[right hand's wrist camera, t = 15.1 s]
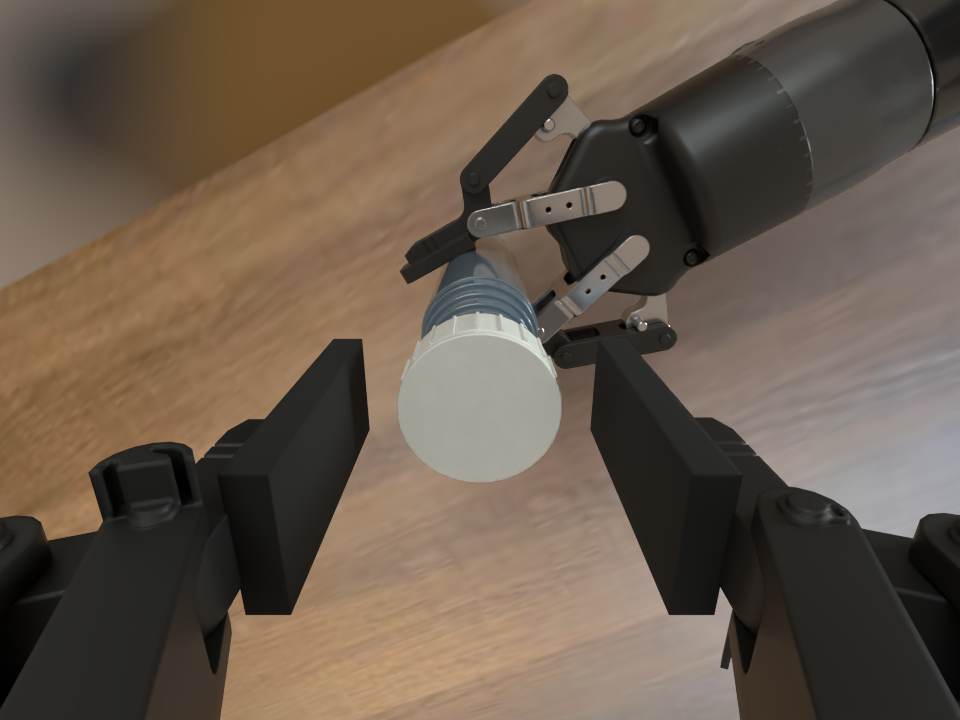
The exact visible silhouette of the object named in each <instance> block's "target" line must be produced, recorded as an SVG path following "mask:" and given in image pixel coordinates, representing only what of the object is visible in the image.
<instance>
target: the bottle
mask: <svg viewBox="0 0 960 720" xmlns="http://www.w3.org/2000/svg"><path fill="white" fill-rule="evenodd" d="M476 312H479V314H492V315H497V316H499V314H502V315H503V317H505V318H507V319H510V320H512V321H514V322H516V323H518V324H520V323H522V324H523V325H524V328H526V329H527V330H528V331H530V332H531V333H532V334H533V335H534V336H535V337H536V338H538V324H537V319H536V315H535V313H534V310H533V307H532V305H531V302H530V299H529V297H528V294H527V291H526V289H525V286H524V283H523V281H522V278H521V275H520V273H519V270H518V267H517V265H516V262H515V259H514V257H513V254H512V251H511V250H510V248H509V246H508V245H507V244H506V242H505V241H504V240H502V239H501V238H500V237H498V236H497V235H492V236H488V237H483V238H480V239H479V240H477V241H476V246H475V247H474V248H473V249H471V250H469V251H467V252H466V253H464V254H462V255H460V256H458V257H456V258H454V259H453V260H451V261H449V262H448V263H446V264H444V265H443V268H442V271H441V273H440V276H439V278H438V281H437V284H436V286H435V289H434V291H433V294H432V297H431V299H430V302H429V304H428V307H427V310H426V312H425V315H424V319H423V324H422V335H421V339H423V338H424V337H425V336H426V335H427V334H428V333H429V332H430V331H431V330H432V328H433V326H434V325H435V326H436V327H437V326H438V325H440V324H442V323H443V322H445V321H447V320H450V319H452V318H453V316H455V315H456V317H458V316H462V315H467V314H476Z"/></svg>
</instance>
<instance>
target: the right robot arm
mask: <svg viewBox="0 0 960 720" xmlns="http://www.w3.org/2000/svg"><path fill="white" fill-rule="evenodd" d="M369 430H370V429H369V417H368V405H367V393H366V381H365V369H364V357H363V345H362V339H333V340H332V342H331V343H330V344H329V345H328V346H327V347H326V349H325V350H324V351H323V352H322V353H321V354H320V356H319V357H318V358H317V359H316V360H315V361H314V363H313V364H312V365H311V366H310V367H309V368H308V370H307V371H306V372H305V373H304V374H303V375H302V376H301V378H300V379H299V380H298V381H297V382H296V383H295V385H294V386H293V387H292V388H291V389H290V390H289V392H288V393H287V394H286V395H285V396H284V397H283V399H282V400H281V401H280V402H279V403H278V404H277V406H276V407H275V408H274V409H273V410H272V411H271V413H270V414H269V415H268V416H267V417H266V418H265V419H248V420H246V421H244V422H243V423H241V424H239V425H237V426H235V427H234V428H232V429H230V430H228V431H227V432H226V433H225V434H224V435H223V436H222V437H221V438H220V439H219V440H218V441H217V442H216V443H215V447H212V448H211V449H210V450H209V451H208V452H207V453H206V454H205V455H204V458H201V459H200V460H199V461H198V462H197V463H196V464H195V460H194V455H193V451H192V449H191V448H190V447H188V446H187V445H185V444H181V443H175V442H160V443H151V444H146V445H141V446H136V447H133V448H130V449H127V450H124V451H121V452H119V453H116V454H114V455H112V456H110V457H108V458H106V459H105V460H103V461H101V462H99V463H98V464H97V465H96V466H95V467H94V468H93V469H92V470H91V471H89V472H88V473H89V476H90V479H91V482H92V486H93V489H94V492H95V496H96V499H97V502H98V505H99V509H100V512H101V515H102V518H103V523H102V524H101V526H100V528H99V530H98V531H96V532H91V533H86V534H81V535H76V536H70V537H65V538H60V539H55V540H50V541H47V538H46V535H45V532H44V530H43V527H42V524H41V522H40V521H38V520H37V519H35V518H34V517H29V516H10V517H3V518H0V720H220V715H221V708H222V701H223V693H224V686H225V679H226V672H227V664H228V657H229V650H230V643H231V635H232V630H231V623H230V618H229V614H228V609H229V607H230V606H231V604H232V602H233V600H234V599H235V597H236V595H237V593H238V592H239V590H241V594H242V599H243V604H244V609H245V614H246V615H291V614H292V611H293V609H294V606H295V604H296V602H297V599H298V597H299V595H300V592H301V590H302V588H303V585H304V583H305V581H306V578H307V576H308V573H309V571H310V569H311V566H312V564H313V562H314V559H315V557H316V555H317V552H318V550H319V548H320V545H321V543H322V540H323V538H324V536H325V533H326V531H327V529H328V526H329V524H330V522H331V519H332V517H333V514H334V512H335V510H336V507H337V505H338V503H339V500H340V498H341V496H342V493H343V491H344V489H345V486H346V484H347V481H348V479H349V477H350V474H351V472H352V470H353V467H354V465H355V463H356V460H357V458H358V455H359V453H360V451H361V448H362V446H363V444H364V441H365V439H366V437H367V434H368V432H369ZM590 430H591V432H592V434H593V437H594V439H595V441H596V444H597V446H598V448H599V451H600V453H601V455H602V458H603V460H604V463H605V465H606V467H607V470H608V472H609V474H610V477H611V479H612V481H613V484H614V486H615V489H616V491H617V493H618V496H619V498H620V500H621V503H622V505H623V507H624V510H625V512H626V514H627V517H628V519H629V522H630V524H631V526H632V529H633V531H634V533H635V536H636V538H637V540H638V543H639V545H640V548H641V550H642V552H643V555H644V557H645V559H646V562H647V564H648V566H649V569H650V571H651V573H652V576H653V578H654V581H655V583H656V585H657V588H658V590H659V592H660V595H661V597H662V599H663V602H664V604H665V606H666V609H667V611H668V614H669V615H714V614H715V609H716V604H717V599H718V594H719V590H720V587H721V589H722V591H723V592H724V594H725V596H726V598H727V599H728V601H729V603H730V605H731V606H732V608H733V609H732V614H731V618H730V623H729V628H728V632H727V637H726V641H725V646H724V650H723V655H722V661H721V667H720V668H724V669H728V667H729V663H730V658H732V663H733V670H734V678H735V685H736V692H737V699H738V706H739V714H740V720H960V515H954V514H947V513H938V514H928V515H927V516H925V517H923V518H922V519H920V521H919V524H918V527H917V530H916V532H915V535H914V538H908V537H902V536H897V535H892V534H887V533H881V532H876V531H871V530H866V529H862V528H861V527H860V525H859V523H858V522H857V520H856V519H855V518H854V517H853V515H852V514H851V513H850V512H849V511H848V510H847V509H846V508H844V507H843V506H841V505H840V504H838V503H837V502H835V501H834V500H832V499H830V498H827V497H825V496H823V495H820V494H818V493H815V492H812V491H808V490H804V489H800V488H796V487H789V486H788V485H787V484H786V483H785V482H784V481H783V480H782V479H781V478H780V477H779V476H778V475H777V474H776V473H775V472H774V471H773V470H772V469H771V468H770V467H769V466H768V465H767V464H766V463H765V462H764V461H763V460H762V459H761V458H760V457H759V456H756V453H755V451H754V450H753V449H752V448H751V447H750V446H749V445H746V444H745V441H744V440H743V439H742V438H741V437H740V436H739V435H738V434H737V433H736V432H735V431H734V430H733V429H732V428H730V427H728V426H726V425H725V424H723V423H721V422H719V421H717V420H715V419H714V418H694V417H693V416H692V415H691V414H690V413H689V411H688V410H687V409H686V408H685V407H684V406H683V404H682V403H681V402H680V401H679V400H678V399H677V397H676V396H675V395H674V394H673V393H672V392H671V390H670V389H669V388H668V387H667V386H666V385H665V383H664V382H663V381H662V380H661V379H660V378H659V376H658V375H657V374H656V373H655V372H654V371H653V370H652V368H651V367H650V366H649V365H648V364H647V363H646V361H645V360H644V359H643V358H642V357H641V356H640V354H639V353H638V352H637V351H636V350H635V349H634V347H633V346H632V345H631V344H630V343H629V342H628V340H627V339H598V345H597V357H596V369H595V381H594V393H593V405H592V417H591V429H590Z"/></svg>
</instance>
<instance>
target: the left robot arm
mask: <svg viewBox="0 0 960 720" xmlns="http://www.w3.org/2000/svg"><path fill="white" fill-rule="evenodd" d="M958 126H960V0H838V1H836V2H834V3H832V4H830V5H828V6H826V7H824V8H821V9H819V10H817V11H814V12H812V13H809V14H807V15H804V16H802V17H800V18H797V19H795V20H793V21H791V22H788V23H787V24H785V25H783V26H781V27H779V28H777V29H775V30H773V31H772V32H770V33H768V34H767V35H765V36H763V37H761V38H760V39H758V40H756V41H752V42H750V43H747V44H745V45H743V46H741V47H740V48H738V49H737V50H736V51H734V52H733V53H732V54H731V55H730V56H729V57H727V58H725V59H723V60H722V61H720V62H718V63H716V64H715V65H713V66H711V67H709V68H708V69H706V70H704V71H703V72H701V73H699V74H697V75H696V76H694V77H692V78H690V79H689V80H687V81H685V82H683V83H682V84H680V85H678V86H676V87H675V88H673V89H671V90H670V91H668V92H666V93H664V94H663V95H661V96H659V97H657V98H656V99H654V100H652V101H650V102H649V103H647V104H645V105H643V106H642V107H640V108H638V109H637V110H635V111H633V112H631V113H630V114H628V115H626V116H624V117H622V118H620V119H615V120H597V121H594V122H592V121H591V120H590V119H589V118H588V117H587V116H586V114H585V113H584V112H583V111H582V110H581V109H580V108H579V107H578V105H577V104H576V103H575V102H574V101H573V100H572V99H571V97H570V96H569V95H568V84H567V82H566V80H565V79H564V78H563V77H562V76H560V75H557V74H552V75H549V76H547V77H546V78H545V79H543V81H542V82H541V83H540V84H539V85H538V86H537V87H536V88H535V90H534V91H533V92H532V93H531V94H530V95H529V96H528V97H527V99H526V100H525V101H524V102H523V103H522V104H521V105H520V106H519V108H518V109H517V110H516V111H515V112H514V113H513V114H512V115H511V117H510V118H509V119H508V120H507V121H506V122H505V123H504V124H503V126H502V127H501V128H500V129H499V130H498V131H497V132H496V133H495V135H494V136H493V137H492V138H491V139H490V140H489V141H488V142H487V144H486V145H485V146H484V147H483V148H482V149H481V150H480V151H479V153H478V154H477V155H476V156H475V157H474V158H473V159H472V160H471V162H470V163H469V164H468V165H467V166H466V167H465V168H464V170H463V171H462V173H461V176H460V183H461V187H462V193H463V199H464V211H463V213H462V215H461V216H460V217H459V218H457V219H456V220H454V221H452V222H451V223H449V224H447V225H445V226H444V227H442V228H440V229H438V230H437V231H435V232H433V233H431V234H430V235H428V236H426V237H424V238H423V239H421V240H419V241H417V242H416V243H415V244H414V245H413V246H412V247H411V248H410V250H409V251H408V252H407V254H406V255H405V257H406V259H407V260H408V262H409V263H407V264H406V265H405V266H403V268H402V269H401V270H400V273H401V274H402V276H403V278H404V279H405V281H406V282H407V284H409V283H412V282H414V281H415V280H417V279H419V278H421V277H423V276H424V275H426V274H428V273H430V272H432V271H433V270H435V269H437V268H439V267H440V266H442V265H444V264H446V263H448V262H449V261H451V260H453V259H454V258H456V257H458V256H460V255H462V254H464V253H466V252H467V251H469V250H471V249H473V248H474V247H475V246H476V241H477V240H479V239H480V238H483V237H488V236H492V235H497V234H501V233H506V232H510V231H515V230H520V229H529V228H534V227H539V226H543V225H545V226H546V228H547V230H548V232H549V233H550V234H551V235H552V236H553V237H554V239H555V240H556V241H557V242H558V243H559V245H560V251H561V256H562V260H563V262H564V264H565V267H566V270H565V271H564V272H563V273H562V274H561V275H560V276H559V277H558V278H557V279H556V280H555V281H554V282H553V283H552V285H551V287H550V288H549V290H548V291H547V292H546V293H545V294H544V295H543V296H541V297H540V298H539V299H538V300H537V301H536V302H535V303H534V304H533V305H532V307H533V310H534V313H535V315H536V319H537V324H538V337H539V339H540V341H541V343H542V346H543V348H544V350H545V352H546V353H547V354H548V355H549V356H551V357H552V358H553V359H554V361H555V363H556V364H557V366H559V367H560V368H563V369H568V368H574V367H579V366H584V365H590V364H595V363H596V357H597V345H598V339H627V340H628V342H629V343H630V344H631V345H632V346H633V347H634V349H635V350H636V351H637V352H638V353H639V354H640V355H643V354H648V353H653V352H659V351H664V350H668V349H670V348H671V347H673V346H674V344H675V343H676V340H677V335H676V332H675V331H674V330H673V329H672V328H671V327H670V326H669V324H668V313H667V301H666V292H668V291H669V290H670V289H672V288H673V287H674V285H675V284H676V283H677V281H678V280H679V279H680V278H681V276H682V275H683V274H684V273H686V272H687V271H688V270H690V269H691V268H693V267H695V266H697V265H700V264H702V263H704V262H706V261H709V260H711V259H713V258H715V257H717V256H719V255H720V254H722V253H724V252H726V251H728V250H730V249H732V248H734V247H736V246H738V245H740V244H742V243H744V242H746V241H748V240H750V239H752V238H754V237H756V236H758V235H760V234H762V233H764V232H766V231H767V230H769V229H771V228H773V227H775V226H777V225H779V224H781V223H783V222H785V221H787V220H789V219H791V218H793V217H795V216H797V215H799V214H801V213H803V212H805V211H807V210H809V209H811V208H812V207H814V206H816V205H818V204H820V203H822V202H824V201H826V200H828V199H830V198H832V197H834V196H836V195H838V194H840V193H842V192H844V191H846V190H847V189H849V188H851V187H853V186H855V185H856V184H858V183H860V182H861V181H863V180H864V179H866V178H867V177H869V176H871V175H872V174H874V173H875V172H877V171H878V170H879V169H881V168H882V167H884V166H885V165H887V164H888V163H890V162H891V161H893V160H895V159H896V158H898V157H900V156H902V155H903V154H905V153H906V152H909V151H911V150H913V149H915V148H917V147H919V146H921V145H923V144H925V143H927V142H929V141H931V140H933V139H934V138H936V137H938V136H940V135H942V134H944V133H946V132H948V131H950V130H952V129H954V128H956V127H958ZM559 135H568V136H570V137H571V138H572V139H573V140H572V142H571V144H570V146H569V148H568V150H567V152H566V154H565V156H564V158H563V160H562V163H561V165H560V167H559V169H558V171H557V173H556V175H555V177H554V179H553V181H552V183H551V185H550V187H549V189H548V190H546V191H541V192H537V193H532V194H528V195H524V196H519V197H516V198H513V199H509V200H505V201H501V202H496V203H492V204H491V198H490V191H489V183H490V182H491V181H492V180H493V179H494V178H495V177H496V176H497V175H498V173H499V172H500V171H501V170H502V169H503V168H504V167H505V166H506V165H507V164H508V163H509V161H510V160H511V159H512V158H513V157H514V156H515V155H516V154H517V153H518V152H519V150H520V149H521V148H522V147H523V146H524V145H525V144H526V143H527V142H528V141H529V140H530V138H531V137H532V136H534V137H535V139H537V140H538V141H540V142H549V141H551V140H553V139H555V138H556V137H557V136H559ZM586 289H589V290H588V291H585V290H586ZM606 291H610V292H619V293H627V294H635V295H641V299H640V300H639V302H638V303H637V304H635V305H634V306H631V307H629V308H627V309H626V310H625V311H624V312H623V313H622V316H621V319H618V320H613V321H608V322H603V323H598V324H593V325H587V326H582V327H577V328H572V329H567V330H562V329H561V328H562V327H563V326H564V325H565V324H566V323H567V322H569V321H570V320H571V319H572V318H574V317H577V316H579V315H581V314H582V313H583V312H584V311H586V310H587V309H588V308H589V307H590V306H591V305H592V304H593V303H594V302H595V301H596V300H598V299H599V298H600V297H601V296H602V295H603V294H604V293H605V292H606Z"/></svg>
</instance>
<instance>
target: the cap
mask: <svg viewBox="0 0 960 720" xmlns="http://www.w3.org/2000/svg"><path fill="white" fill-rule="evenodd" d="M556 377H558V376H557V373H556V370H555V368H554V365H553V362H552V360H551V357H550V356H547V353H546V352H545V350H544V348H543V346H542V343H541V341H540V339H539V337H538V338H536V337H535V336H534V335H533V334H532V333H531V332H530V331H528V330H527V329H526V328H524V325H523V324H522V323H520V324H518V323H516V322H514V321H512V320H510V319H507V318H505V317H503V315H502V314H499V316H497V315H492V314H479V312H476V314H467V315H462V316H458V317H456V315H455V316H453V318H452V319H450V320H447V321H445V322H443V323H442V324H440V325H438V326H437V327H436V326H435V325H434V326H433V328H432V330H431V331H430V332H429V333H428V334H427V335H426V336H425V337H424V338H423V339H422V340H421V342H420V341H418V342H417V344H416V347H415V350H414V352H413V355H412V357H411V360H409V359H408V361H407V364H406V367H405V369H404V372H403V374H402V377H401V380H400V381H402V384H401V387H400V391H399V395H398V399H397V403H398V404H397V412H398V420H399V425H400V428H401V431H402V434H403V436H404V438H405V440H406V442H407V444H408V445H409V447H410V448H411V450H412V451H413V453H414V454H415V455H416V456H417V457H418V458H419V459H420V460H421V461H422V462H424V463H425V464H426V465H427V466H428V467H430V468H432V469H433V470H435V471H436V472H438V473H440V474H442V475H444V476H447V477H450V478H453V479H456V480H460V481H464V482H473V483H486V482H495V481H499V480H504V479H507V478H510V477H513V476H515V475H517V474H519V473H521V472H523V471H525V470H526V469H528V468H530V467H531V466H532V465H534V464H535V463H536V462H537V461H538V460H540V458H541V457H542V456H543V455H544V454H545V453H546V452H547V450H548V449H549V448H550V446H551V445H552V443H553V441H554V439H555V437H556V435H557V432H558V430H559V427H560V422H561V418H562V395H561V392H560V389H559V386H558V383H557V380H556Z"/></svg>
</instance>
